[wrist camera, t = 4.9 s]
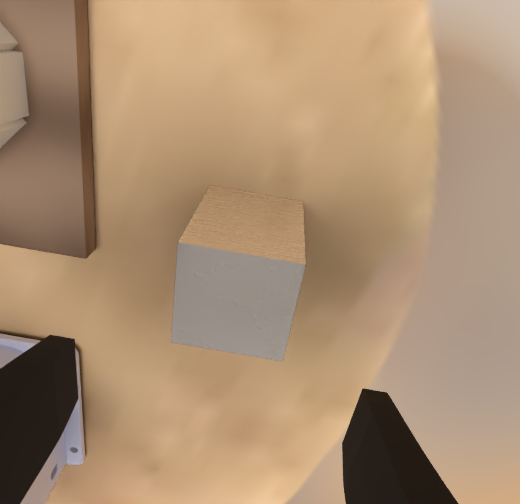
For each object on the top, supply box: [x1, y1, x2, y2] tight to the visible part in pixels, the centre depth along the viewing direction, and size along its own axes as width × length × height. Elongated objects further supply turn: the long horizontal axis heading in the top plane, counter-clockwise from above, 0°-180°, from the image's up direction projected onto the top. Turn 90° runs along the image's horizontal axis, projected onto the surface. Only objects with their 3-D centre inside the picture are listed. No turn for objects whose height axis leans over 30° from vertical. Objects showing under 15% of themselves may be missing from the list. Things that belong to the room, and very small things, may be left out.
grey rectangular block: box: [171, 185, 306, 361], centre depth 16 cm, size 4×4×6 cm
